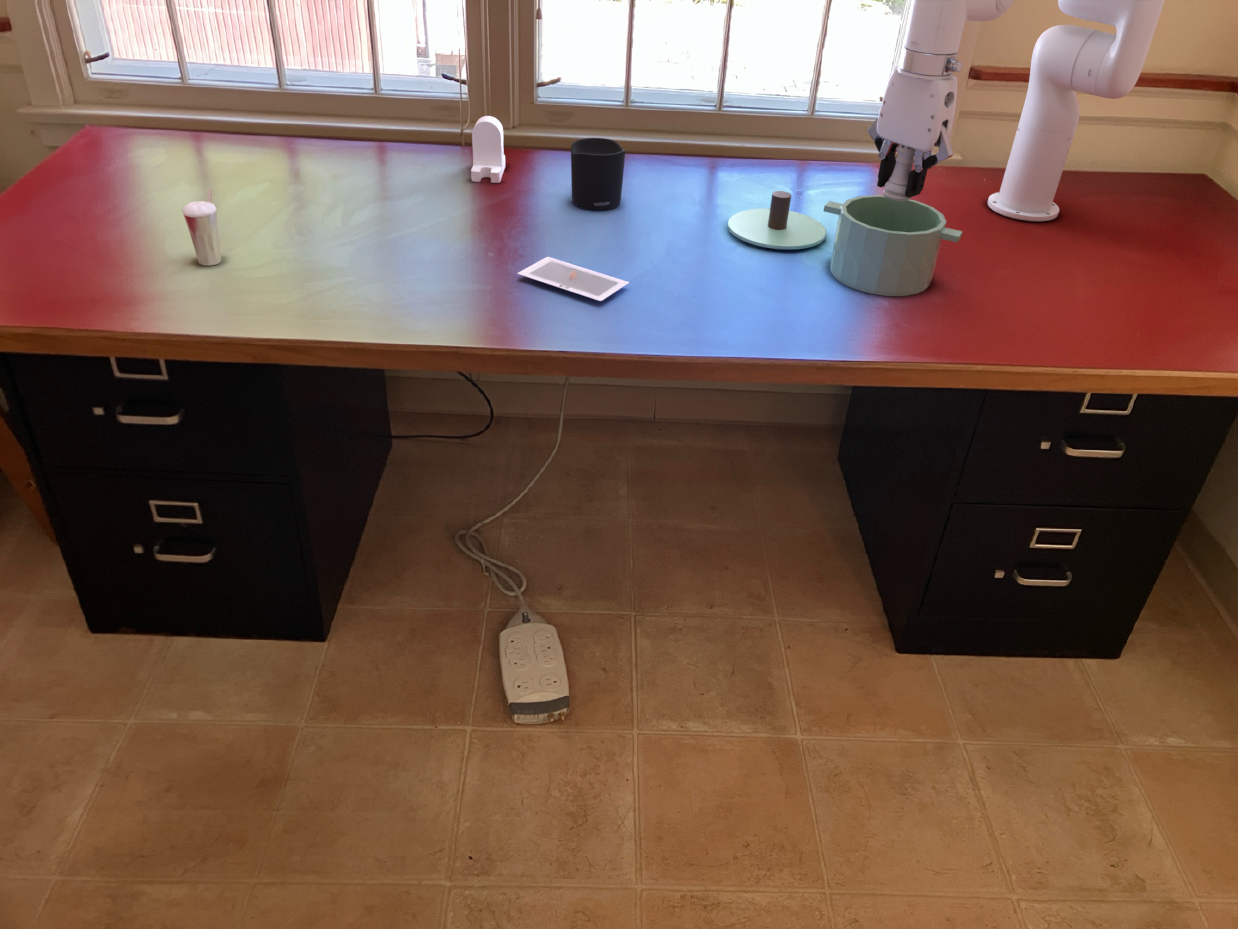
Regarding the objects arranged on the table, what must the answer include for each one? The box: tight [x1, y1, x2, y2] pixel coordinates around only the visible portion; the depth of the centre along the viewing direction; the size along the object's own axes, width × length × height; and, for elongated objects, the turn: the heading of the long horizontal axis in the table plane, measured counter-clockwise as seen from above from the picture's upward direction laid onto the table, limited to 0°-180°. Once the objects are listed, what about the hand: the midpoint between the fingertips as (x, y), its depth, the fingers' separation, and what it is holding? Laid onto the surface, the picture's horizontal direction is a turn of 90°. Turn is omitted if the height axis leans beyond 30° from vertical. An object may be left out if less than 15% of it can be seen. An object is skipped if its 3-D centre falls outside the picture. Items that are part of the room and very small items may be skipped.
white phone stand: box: [470, 115, 506, 184], centre depth 179 cm, size 5×10×10 cm, turn 179°
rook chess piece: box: [882, 144, 915, 201], centre depth 144 cm, size 4×4×8 cm
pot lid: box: [727, 190, 827, 250], centre depth 163 cm, size 17×17×7 cm
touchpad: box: [516, 256, 630, 302], centre depth 145 cm, size 8×15×2 cm, turn 58°
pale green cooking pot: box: [823, 194, 963, 297], centre depth 151 cm, size 16×21×10 cm
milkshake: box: [181, 189, 222, 267], centre depth 143 cm, size 4×5×10 cm
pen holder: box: [570, 137, 626, 212], centre depth 170 cm, size 9×9×10 cm
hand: (898, 189), depth 145 cm, fingers closed on rook chess piece, 4 cm apart
